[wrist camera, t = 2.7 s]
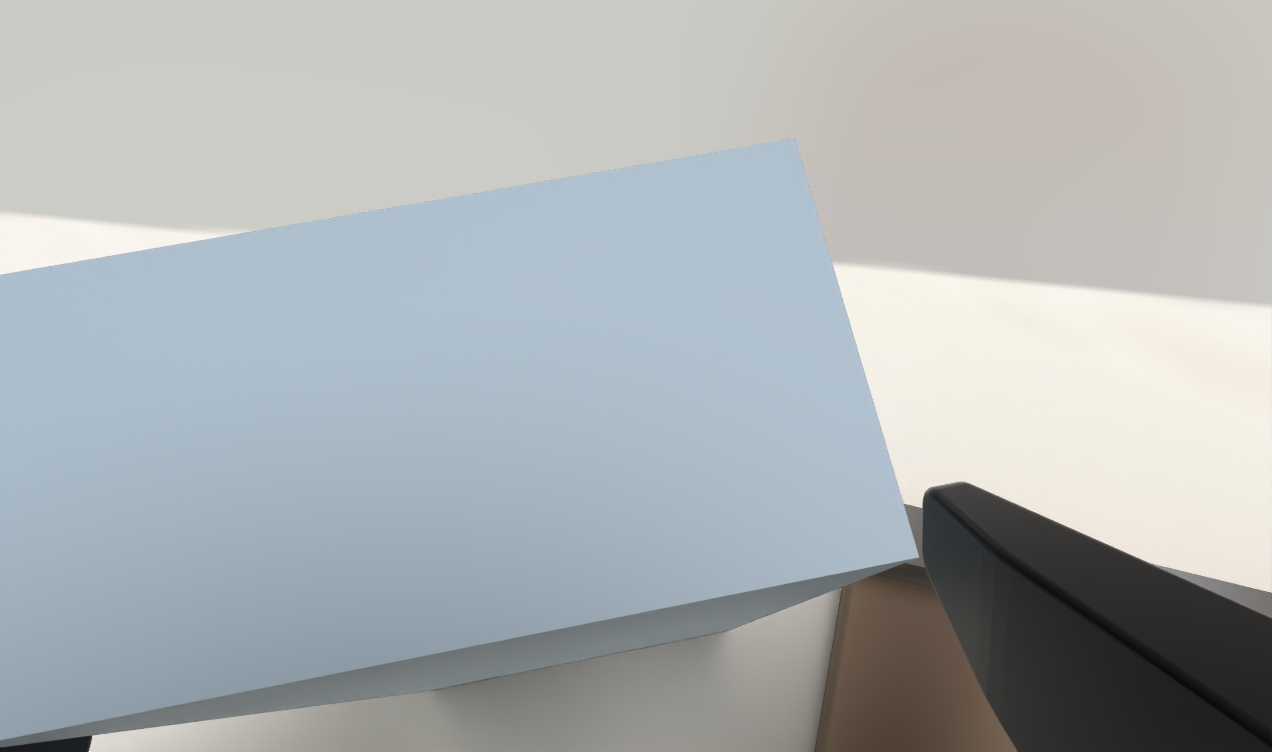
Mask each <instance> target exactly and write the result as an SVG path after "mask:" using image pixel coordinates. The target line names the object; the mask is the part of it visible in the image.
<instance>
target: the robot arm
mask: <svg viewBox="0 0 1272 752" xmlns="http://www.w3.org/2000/svg"><path fill="white" fill-rule="evenodd" d="M922 556H923V561H924V565H925V568H926V571H927V574H928V576H929V578H930V580H931V582H932V585H933V587H934V589H935V591H936V593H937V595H938V597H939V600H940V602H941V604H942V606H943V608H944V610H945V613H946V615H947V617H948V619H949V621H950V623H951V626H952V628H953V630H954V632H955V634H956V636H957V638H958V641H959V643H960V645H961V647H962V649H963V651H964V654H965V656H966V658H967V660H968V662H969V664H970V666H971V669H972V671H973V673H974V675H975V677H976V679H977V681H978V683H979V685H980V687H981V689H982V691H983V694H984V696H985V698H986V699H987V701H988V703H989V705H990V707H991V708H992V710H993V712H994V714H995V715H996V717H997V719H998V721H999V722H1000V724H1001V725H1002V727H1003V729H1004V730H1005V732H1006V734H1007V735H1008V737H1009V739H1010V740H1011V742H1012V744H1013V745H1014V747H1015V749H1016V750H1017V752H1272V617H1270V616H1268V615H1265V614H1263V613H1261V612H1259V611H1256V610H1254V609H1252V608H1250V607H1247V606H1245V605H1243V604H1241V603H1238V602H1236V601H1234V600H1232V599H1229V598H1227V597H1225V596H1222V595H1220V594H1218V593H1216V592H1213V591H1211V590H1209V589H1207V588H1204V587H1202V586H1200V585H1198V584H1195V583H1193V582H1191V581H1189V580H1186V579H1184V578H1182V577H1180V576H1177V575H1175V574H1173V573H1171V572H1168V571H1166V570H1164V569H1161V568H1159V567H1157V566H1155V565H1152V564H1150V563H1148V562H1146V561H1143V560H1141V559H1139V558H1137V557H1134V556H1132V555H1130V554H1128V553H1125V552H1123V551H1121V550H1119V549H1116V548H1114V547H1112V546H1110V545H1107V544H1105V543H1103V542H1100V541H1098V540H1096V539H1094V538H1091V537H1089V536H1087V535H1085V534H1082V533H1080V532H1078V531H1076V530H1073V529H1071V528H1069V527H1067V526H1064V525H1062V524H1060V523H1058V522H1055V521H1053V520H1051V519H1048V518H1046V517H1044V516H1042V515H1039V514H1037V513H1035V512H1033V511H1030V510H1028V509H1026V508H1024V507H1021V506H1019V505H1017V504H1015V503H1012V502H1010V501H1008V500H1006V499H1003V498H1001V497H999V496H997V495H994V494H992V493H990V492H987V491H985V490H983V489H981V488H978V487H976V486H974V485H972V484H969V483H966V482H956V483H951V484H945V485H940V486H935V487H931V488H929V489H928V490H927V491H926V492H925V494H924V497H923V508H922ZM91 740H92V735H91V736H83V737H76V738H68V739H61V740H53V741H46V742H38V743H30V744H23V745H15V746H8V747H0V752H89V748H90V745H91Z"/></svg>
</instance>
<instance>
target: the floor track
mask: <svg viewBox="0 0 1272 752" xmlns="http://www.w3.org/2000/svg"><path fill="white" fill-rule="evenodd" d="M904 507H905V511H906V514H907V517H908V521H909V524H910V528H911V531H912V534H913V538H914V541H915V544H916V548H917V551H918V555H919V558H916V559H914V560H911V561H909V562H906V563H903V564H901V565H898V566H895V567H893V568H890V569H888V570H885V571H882V572H880V573H877V574H875V575H872V576H869V577H867V578H864V579H862V580H859V581H856V582H854V583H851V584H848V585H846V586H843V588H842V594H841V600H840V606H839V612H838V618H837V623H836V629H835V635H834V641H833V647H832V653H831V659H830V665H829V671H828V677H827V683H826V689H825V695H824V700H823V706H822V712H821V718H820V724H819V730H818V736H817V742H816V748H815V752H1017V750H1016V749H1015V747H1014V745H1013V744H1012V742H1011V740H1010V739H1009V737H1008V735H1007V734H1006V732H1005V730H1004V729H1003V727H1002V725H1001V724H1000V722H999V721H998V719H997V717H996V715H995V714H994V712H993V710H992V708H991V707H990V705H989V703H988V701H987V699H986V698H985V696H984V694H983V691H982V689H981V687H980V685H979V683H978V681H977V679H976V677H975V675H974V673H973V671H972V669H971V666H970V664H969V662H968V660H967V658H966V656H965V654H964V651H963V649H962V647H961V645H960V643H959V641H958V638H957V636H956V634H955V632H954V630H953V628H952V626H951V623H950V621H949V619H948V617H947V615H946V613H945V610H944V608H943V606H942V604H941V602H940V600H939V597H938V595H937V593H936V591H935V589H934V587H933V585H932V582H931V580H930V578H929V576H928V574H927V571H926V568H925V565H924V561H923V556H922V508H919V507H915V506H911V505H907V504H904ZM1152 565H1154V564H1152ZM1155 566H1157V567H1159V568H1161V569H1164V570H1166V571H1168V572H1171V573H1173V574H1175V575H1177V576H1180V577H1182V578H1184V579H1186V580H1189V581H1191V582H1193V583H1195V584H1198V585H1200V586H1202V587H1204V588H1207V589H1209V590H1211V591H1213V592H1216V593H1218V594H1220V595H1222V596H1225V597H1227V598H1229V599H1232V600H1234V601H1236V602H1238V603H1241V604H1243V605H1245V606H1247V607H1250V608H1252V609H1254V610H1256V611H1259V612H1261V613H1263V614H1265V615H1268V616H1270V617H1272V593H1270V592H1266V591H1262V590H1258V589H1253V588H1249V587H1245V586H1241V585H1237V584H1233V583H1229V582H1225V581H1220V580H1216V579H1212V578H1208V577H1204V576H1200V575H1196V574H1191V573H1187V572H1183V571H1179V570H1175V569H1171V568H1167V567H1163V566H1158V565H1155Z"/></svg>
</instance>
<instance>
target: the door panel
mask: <svg viewBox="0 0 1272 752" xmlns="http://www.w3.org/2000/svg"><path fill="white" fill-rule="evenodd" d="M916 558H919V555H918V551H917V548H916V544H915V541H914V538H913V534H912V531H911V528H910V524H909V521H908V517H907V514H906V511H905V507H904V504H903V501H902V497H901V494H900V490H899V487H898V484H897V480H896V477H895V474H894V470H893V467H892V463H891V460H890V457H889V453H888V450H887V447H886V443H885V440H884V437H883V433H882V430H881V426H880V423H879V420H878V416H877V413H876V410H875V406H874V403H873V399H872V396H871V393H870V389H869V386H868V383H867V379H866V376H865V372H864V369H863V366H862V362H861V359H860V356H859V352H858V349H857V345H856V342H855V339H854V335H853V332H852V329H851V325H850V322H849V318H848V315H847V312H846V308H845V305H844V302H843V298H842V295H841V292H840V288H839V285H838V281H837V278H836V275H835V271H834V268H833V265H832V261H831V258H830V255H829V251H828V248H827V244H826V241H825V238H824V234H823V231H822V227H821V224H820V221H819V217H818V214H817V211H816V207H815V204H814V201H813V197H812V194H811V190H810V187H809V184H808V180H807V177H806V173H805V170H804V167H803V163H802V160H801V157H800V153H799V150H798V147H797V143H796V140H795V138H794V139H789V140H783V141H778V142H771V143H765V144H759V145H754V146H748V147H742V148H736V149H730V150H725V151H719V152H714V153H707V154H701V155H696V156H690V157H684V158H678V159H672V160H667V161H661V162H655V163H649V164H643V165H637V166H632V167H626V168H620V169H614V170H608V171H602V172H597V173H591V174H585V175H579V176H573V177H568V178H561V179H556V180H550V181H544V182H538V183H532V184H526V185H521V186H516V187H509V188H503V189H497V190H492V191H486V192H480V193H474V194H468V195H462V196H457V197H451V198H445V199H439V200H433V201H428V202H422V203H416V204H410V205H404V206H398V207H393V208H387V209H381V210H375V211H369V212H363V213H358V214H352V215H346V216H340V217H334V218H329V219H323V220H317V221H311V222H305V223H299V224H294V225H288V226H282V227H276V228H270V229H265V230H259V231H253V232H247V233H241V234H235V235H229V236H224V237H218V238H212V239H206V240H200V241H195V242H189V243H183V244H177V245H171V246H165V247H160V248H154V249H148V250H142V251H136V252H130V253H125V254H119V255H113V256H107V257H101V258H96V259H90V260H84V261H78V262H72V263H66V264H61V265H55V266H49V267H43V268H37V269H31V270H26V271H20V272H14V273H8V274H2V275H0V747H8V746H15V745H23V744H30V743H38V742H46V741H53V740H61V739H68V738H76V737H83V736H91V735H98V734H106V733H114V732H121V731H129V730H136V729H144V728H151V727H159V726H166V725H174V724H182V723H189V722H197V721H204V720H212V719H219V718H227V717H235V716H242V715H250V714H257V713H265V712H272V711H280V710H287V709H295V708H303V707H310V706H318V705H325V704H333V703H340V702H348V701H355V700H363V699H371V698H378V697H386V696H393V695H401V694H408V693H416V692H423V691H431V690H436V689H441V688H446V687H451V686H456V685H461V684H466V683H471V682H476V681H481V680H486V679H491V678H496V677H501V676H506V675H511V674H516V673H520V672H525V671H530V670H535V669H540V668H545V667H550V666H555V665H560V664H565V663H570V662H575V661H580V660H585V659H590V658H595V657H600V656H605V655H610V654H615V653H620V652H625V651H630V650H635V649H640V648H645V647H650V646H655V645H660V644H665V643H670V642H675V641H679V640H684V639H689V638H694V637H699V636H704V635H709V634H714V633H719V632H724V631H728V630H731V629H734V628H736V627H739V626H741V625H744V624H747V623H749V622H752V621H754V620H757V619H760V618H762V617H765V616H768V615H770V614H773V613H775V612H778V611H781V610H783V609H786V608H788V607H791V606H794V605H796V604H799V603H801V602H804V601H807V600H809V599H812V598H815V597H817V596H820V595H822V594H825V593H828V592H830V591H833V590H835V589H838V588H841V587H843V586H846V585H848V584H851V583H854V582H856V581H859V580H862V579H864V578H867V577H869V576H872V575H875V574H877V573H880V572H882V571H885V570H888V569H890V568H893V567H895V566H898V565H901V564H903V563H906V562H909V561H911V560H914V559H916Z"/></svg>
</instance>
